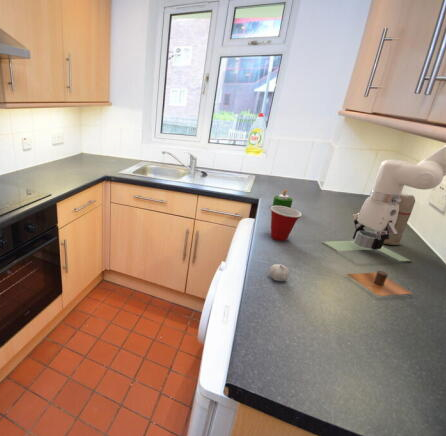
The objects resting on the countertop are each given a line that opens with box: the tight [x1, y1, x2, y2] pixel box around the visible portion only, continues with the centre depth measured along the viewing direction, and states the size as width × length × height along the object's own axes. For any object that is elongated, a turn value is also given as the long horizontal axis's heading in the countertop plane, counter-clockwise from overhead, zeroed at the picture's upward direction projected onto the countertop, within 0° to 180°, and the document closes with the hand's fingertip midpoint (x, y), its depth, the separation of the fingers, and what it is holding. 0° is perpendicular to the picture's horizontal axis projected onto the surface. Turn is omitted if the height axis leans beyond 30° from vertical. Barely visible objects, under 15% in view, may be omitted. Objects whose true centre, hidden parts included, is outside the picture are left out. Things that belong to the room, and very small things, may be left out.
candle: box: [271, 189, 294, 208], centre depth 148 cm, size 8×8×10 cm
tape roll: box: [353, 230, 377, 250], centre depth 107 cm, size 7×7×4 cm
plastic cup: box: [270, 205, 303, 242], centre depth 115 cm, size 11×11×12 cm
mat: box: [322, 240, 411, 263], centre depth 108 cm, size 20×16×1 cm
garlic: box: [269, 263, 291, 282], centre depth 89 cm, size 6×5×5 cm
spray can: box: [374, 192, 416, 246], centre depth 113 cm, size 8×8×20 cm
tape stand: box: [346, 270, 414, 297], centre depth 87 cm, size 11×11×4 cm
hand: (366, 243), depth 107 cm, fingers closed on tape roll, 7 cm apart
